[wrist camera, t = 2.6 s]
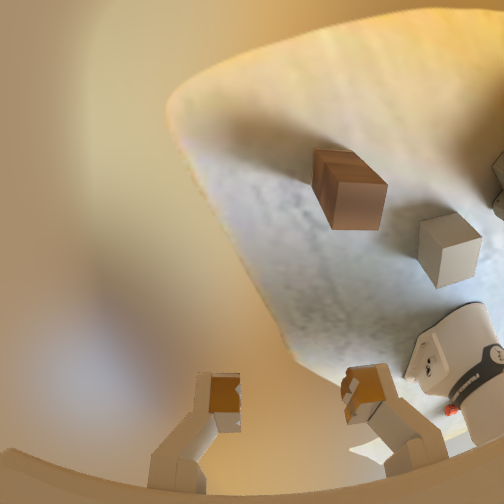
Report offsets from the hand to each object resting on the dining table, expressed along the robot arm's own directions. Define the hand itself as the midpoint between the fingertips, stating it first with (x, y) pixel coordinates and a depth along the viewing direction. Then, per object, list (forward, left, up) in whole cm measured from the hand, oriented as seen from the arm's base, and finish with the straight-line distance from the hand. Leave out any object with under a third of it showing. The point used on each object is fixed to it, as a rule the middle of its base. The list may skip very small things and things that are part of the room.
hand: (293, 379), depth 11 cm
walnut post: (0, -7, -23) cm, 24 cm away
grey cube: (-8, -23, -23) cm, 34 cm away
